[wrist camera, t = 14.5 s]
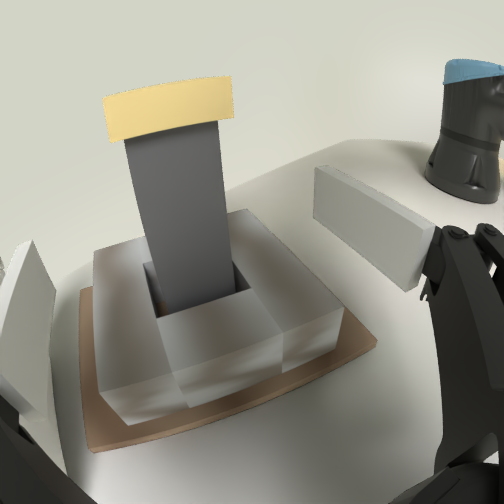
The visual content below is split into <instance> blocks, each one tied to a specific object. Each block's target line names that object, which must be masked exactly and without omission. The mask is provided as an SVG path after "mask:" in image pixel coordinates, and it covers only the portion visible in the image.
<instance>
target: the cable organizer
mask: <svg viewBox="0 0 504 504" xmlns="http://www.w3.org/2000/svg"><path fill="white" fill-rule="evenodd" d="M3 269H4V265H3V262H2V260H1V257H0V287H1V284H2V281H3V279H4V276H5V272H4V270H3ZM47 415H48V420H43V421H37V422H29V421H28V420H26V419H25V418H24V417H23V416H22V415H21V414H19V424H20V425H22V426H23V427H24V428H25V429H26V430H27V431H28V433H29V434H30V435H31V436H32V438H33V439H34V440H35V441H36V442H37V444H38V445H39V446H40V447H41V448H42V449H43V451H44V452H45V453H46V454H47V455H48V456H49V457H50V458H51V460H52V461H53V462H54V463H55V464H56V465H57V466H58V467H59V468H60V469H61V470H62V471H63V472H64V473H65V474H66V475H67V472H66V467H65V463H64V458H63V454H62V449H61V444H60V438H59V432H58V426H57V420H56V413H55V405H54V396H53V385H52V372H51V362H50V356H49V360H48V382H47Z"/></svg>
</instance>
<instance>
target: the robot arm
mask: <svg viewBox="0 0 504 504" xmlns="http://www.w3.org/2000/svg"><path fill="white" fill-rule="evenodd" d="M443 85H444V98H443V110H442V120H441V129H440V136H439V139H438V141H437V143H436V145H435V148H434V150H433V152H432V154H431V156H430V158H429V160H428V162H427V165H426V171H425V177H426V178H427V180H428V181H429V182H430V183H432V184H433V185H435V186H436V187H438V188H439V189H441V190H443V191H445V192H447V193H449V194H452V195H454V196H457V197H459V198H462V199H466V200H469V201H473V202H477V203H485V204H490V203H495V202H496V201H497V200H498V196H499V192H500V173H499V160H498V154H499V148H500V142H501V140H503V141H504V67H503V66H501V65H497V64H494V63H490V62H485V61H478V60H469V59H453V60H450V61H448V62H447V63H446V65H445V75H444V82H443ZM313 218H314V219H316V220H317V221H318V222H319V223H321V224H322V225H323V226H325V227H326V228H327V229H328V230H330V231H331V232H332V233H334V234H335V235H336V236H337V237H339V238H340V239H341V240H343V241H344V242H345V243H346V244H348V245H349V246H350V247H351V248H353V249H354V250H355V251H356V252H358V253H359V254H360V255H361V256H362V257H364V258H365V259H366V260H367V261H369V262H370V263H371V264H372V265H373V266H375V267H376V268H377V269H378V270H379V271H381V272H382V273H383V274H384V275H385V276H387V277H388V278H389V279H390V280H391V281H393V282H394V283H395V284H396V285H397V286H398V287H400V288H401V289H402V290H403V291H404V292H405V293H406V292H407V291H409V290H411V289H413V288H415V287H416V286H418V283H419V280H420V277H421V274H422V273H423V274H424V275H425V276H426V277H427V279H426V282H425V284H424V287H423V290H422V293H421V295H420V300H421V301H422V300H423V297H424V295H425V294H427V298H426V301H428V302H429V307H430V312H431V318H432V324H433V329H434V336H435V342H436V349H437V357H438V365H439V374H440V384H441V397H442V414H443V438H442V441H441V444H440V446H439V448H438V450H437V453H436V457H435V465H434V475H433V476H432V477H430V478H428V479H426V480H425V481H423V482H421V483H419V484H417V485H416V486H414V487H412V488H410V489H408V490H406V491H405V492H404V493H402V494H401V495H400V496H398V497H397V498H396V499H394V500H393V501H391V502H390V503H389V504H504V235H503V234H502V233H501V232H500V231H499V230H498V229H496V228H495V227H494V226H493V225H489V224H487V223H486V224H484V223H480V224H478V225H477V228H476V231H475V234H474V235H469V234H468V233H467V232H466V231H465V230H463V229H461V228H459V227H456V226H449V225H447V226H444V227H443V228H442V229H441V228H439V227H438V226H436V225H435V224H433V223H432V222H430V221H429V220H427V219H425V218H424V217H422V216H420V215H419V214H417V213H415V212H414V211H412V210H410V209H409V208H407V207H405V206H404V205H402V204H400V203H398V202H397V201H395V200H393V199H391V198H390V197H388V196H386V195H384V194H382V193H381V192H379V191H377V190H375V189H373V188H371V187H370V186H368V185H366V184H364V183H362V182H360V181H358V180H356V179H354V178H352V177H350V176H348V175H347V174H345V173H343V172H341V171H339V170H337V169H334V168H332V167H330V166H328V165H326V166H319V167H315V183H314V209H313ZM493 262H494V264H495V265H496V266H497V268H496V270H495V273H494V275H493V277H492V278H491V276H490V273H489V271H490V269H491V267H492V264H493ZM55 296H56V289H55V287H54V285H53V283H52V281H51V280H50V277H49V276H48V273H47V271H46V269H45V267H44V265H43V263H42V260H41V258H40V256H39V254H38V251H37V249H36V247H35V244H34V242H33V240H30V241H27V242H24V243H21V244H19V245H18V247H17V248H16V251H15V253H14V255H13V257H12V260H11V262H10V264H9V267H8V269H7V272H6V274H5V276H4V279H3V281H2V284H1V287H0V504H97V503H96V502H95V501H94V500H93V499H92V498H90V497H89V496H88V495H87V494H86V493H85V492H84V491H83V490H82V489H80V488H79V487H78V486H77V485H76V484H75V483H74V482H73V481H72V480H71V479H70V478H69V477H68V476H67V475H66V474H65V473H64V472H63V471H62V470H61V469H60V468H59V467H58V466H57V465H56V464H55V463H54V462H53V461H52V460H51V458H50V457H49V456H48V455H47V454H46V453H45V452H44V451H43V449H42V448H41V447H40V446H39V445H38V444H37V442H36V441H35V440H34V439H33V438H32V436H31V435H30V434H29V433H28V431H27V430H26V429H25V428H24V427H23V426H22V425H20V424H19V414H21V415H22V416H23V417H24V418H25V419H26V420H28V421H29V422H37V421H43V420H48V415H47V382H48V360H49V346H50V335H51V325H52V317H53V309H54V302H55ZM497 451H498V455H499V464H492V463H483V461H484V460H485V459H486V458H488V457H489V456H491V455H492V454H494V453H495V452H497Z"/></svg>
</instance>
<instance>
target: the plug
mask: <svg viewBox="0 0 504 504" xmlns="http://www.w3.org/2000/svg"><path fill="white" fill-rule="evenodd" d="M103 105H104V111H105V117H106V123H107V129H108V134H109V139H110V143H113V142H116V141H120V140H124V143H125V149H126V154H127V158H128V164H129V169H130V173H131V177H132V183H133V187H134V191H135V196H136V200H137V204H138V208H139V212H140V216H141V220H142V224H143V228H144V232H145V236H146V239H147V243H148V247H149V250H150V254H151V257H152V261H153V264H154V268H155V271H156V274H157V278H158V281H159V284H160V287H161V291H162V294H163V297H164V300H165V303H166V306H167V309H168V312H169V315H170V314H173V313H176V312H180V311H183V310H186V309H189V308H192V307H195V306H198V305H202V304H205V303H208V302H211V301H214V300H217V299H220V298H223V297H226V296H229V295H232V294H235V293H236V289H235V281H234V273H233V264H232V255H231V247H230V238H229V229H228V220H227V210H226V201H225V191H224V182H223V172H222V162H221V152H220V141H219V130H218V120H222V119H228V118H234V111H233V98H232V84H231V76H221V77H207V78H196V79H189V80H182V81H175V82H169V83H164V84H158V85H153V86H148V87H143V88H138V89H133V90H129V91H125V92H121V93H116V94H112V95H109V96H106V97H104V98H103Z"/></svg>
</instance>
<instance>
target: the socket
mask: <svg viewBox="0 0 504 504" xmlns="http://www.w3.org/2000/svg"><path fill="white" fill-rule="evenodd" d="M227 220H228V229H229V238H230V247H231V255H232V264H233V273H234V281H235V289H236V293H235V294H232V295H229V296H226V297H223V298H220V299H217V300H214V301H211V302H208V303H205V304H202V305H198V306H195V307H192V308H189V309H186V310H183V311H180V312H176V313H173V314H170V315H169V312H168V309H167V306H166V303H165V300H164V297H163V294H162V291H161V287H160V284H159V281H158V278H157V274H156V271H155V268H154V264H153V261H152V257H151V254H150V250H149V247H148V243H147V239H146V236H143V237H140V238H136V239H133V240H129V241H126V242H123V243H119V244H116V245H113V246H109V247H106V248H103V249H99V250H96V251H94V261H93V286H91V287H88V288H84V289H81V290H80V304H79V366H80V384H81V397H82V408H83V417H84V425H85V433H86V439H87V446H88V449H89V450H90V451H92V452H93V453H98V452H103V451H108V450H113V449H118V448H123V447H127V446H131V445H136V444H140V443H144V442H148V441H152V440H156V439H159V438H163V437H167V436H170V435H174V434H177V433H180V432H184V431H187V430H190V429H193V428H196V427H199V426H202V425H205V424H208V423H211V422H214V421H217V420H220V419H223V418H225V417H228V416H231V415H234V414H236V413H239V412H242V411H244V410H247V409H249V408H252V407H254V406H257V405H259V404H262V403H264V402H266V401H269V400H271V399H273V398H276V397H278V396H280V395H283V394H285V393H287V392H289V391H291V390H294V389H296V388H298V387H300V386H302V385H304V384H306V383H309V382H311V381H313V380H315V379H317V378H319V377H321V376H323V375H325V374H327V373H329V372H331V371H333V370H335V369H336V368H338V367H340V366H342V365H344V364H346V363H348V362H350V361H351V360H353V359H355V358H357V357H359V356H360V355H362V354H364V353H366V352H367V351H369V350H371V349H373V348H374V347H375V346H376V343H377V339H376V338H375V337H374V336H373V335H372V334H371V333H370V332H369V331H368V329H367V328H366V327H365V326H364V325H363V324H362V323H361V322H360V321H359V320H358V319H357V318H356V317H355V316H354V315H353V314H352V313H351V312H350V311H349V310H348V309H347V308H346V307H345V306H344V305H343V304H342V303H341V302H340V301H339V299H338V298H337V297H336V296H335V295H334V294H333V293H332V292H331V291H330V290H329V289H328V288H327V287H326V286H325V285H324V284H323V283H322V282H321V281H320V280H319V279H318V278H317V277H316V276H315V275H314V274H313V273H312V272H311V271H310V270H309V269H308V268H307V267H306V266H305V265H304V264H303V263H302V262H301V261H300V260H299V259H298V258H297V257H296V256H295V255H294V254H293V253H292V252H291V251H290V250H289V249H288V248H287V247H286V246H285V245H284V244H283V243H282V242H281V241H280V240H279V239H278V238H277V237H276V236H275V235H274V234H273V233H271V232H270V231H269V230H268V229H267V228H266V227H265V226H264V225H263V224H262V223H261V222H260V221H259V220H258V219H257V218H256V217H255V216H254V215H253V214H252V213H251V212H250V211H249V210H248V209H243V210H239V211H235V212H232V213H228V214H227Z"/></svg>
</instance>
